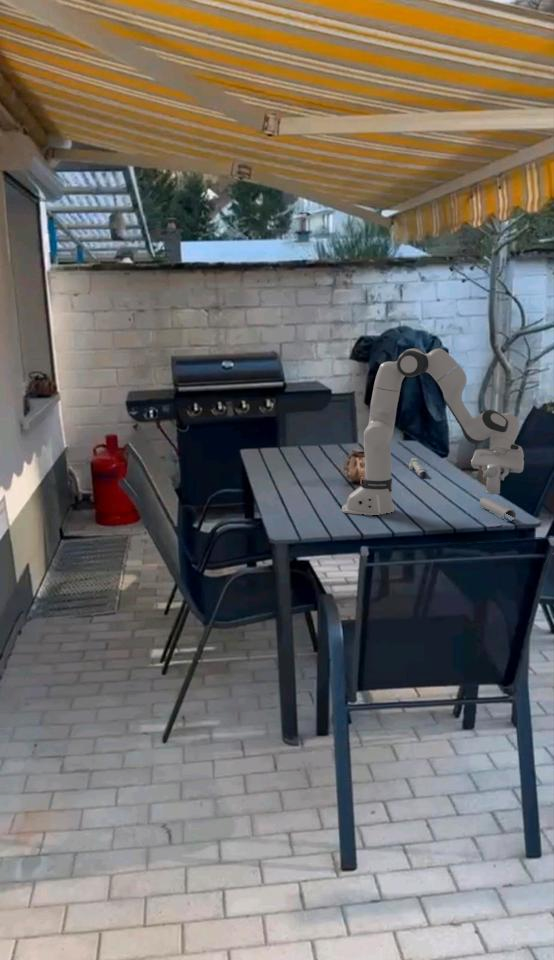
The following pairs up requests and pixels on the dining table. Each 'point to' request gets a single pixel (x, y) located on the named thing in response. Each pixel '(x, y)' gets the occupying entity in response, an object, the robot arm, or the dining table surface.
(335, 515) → the dining table surface
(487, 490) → the elbow
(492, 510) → the tube
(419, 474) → the cream ribbed cylinder
